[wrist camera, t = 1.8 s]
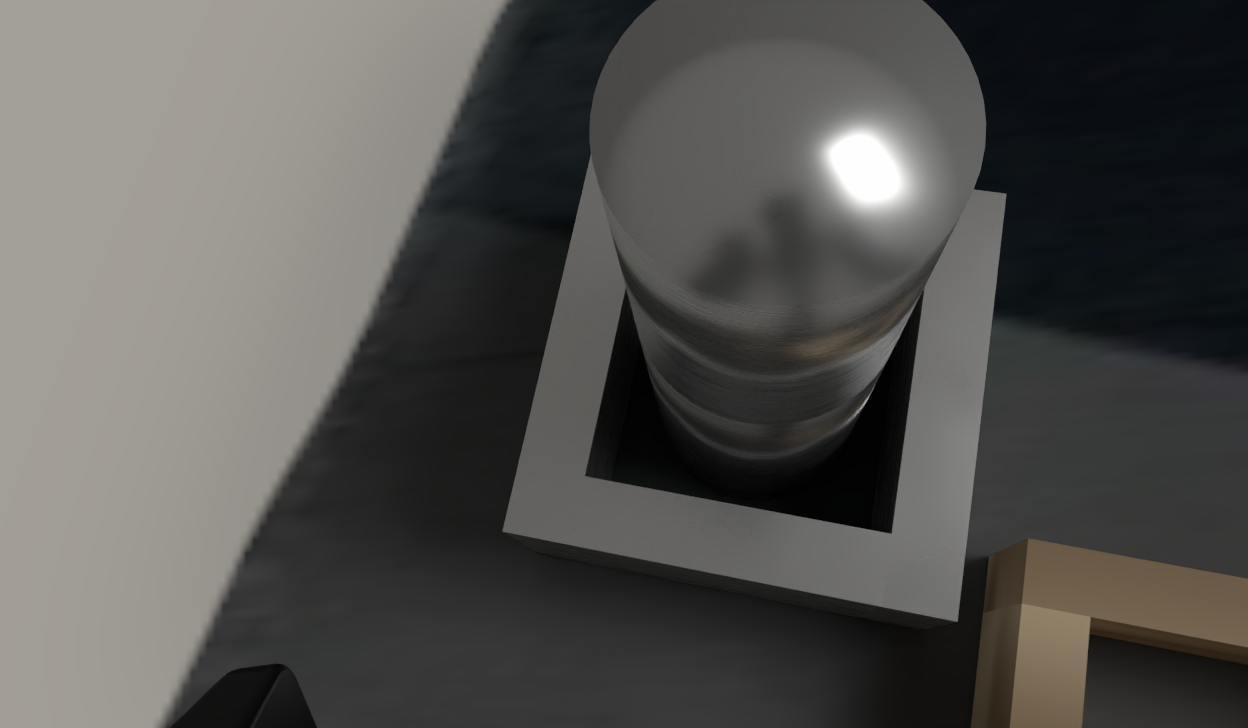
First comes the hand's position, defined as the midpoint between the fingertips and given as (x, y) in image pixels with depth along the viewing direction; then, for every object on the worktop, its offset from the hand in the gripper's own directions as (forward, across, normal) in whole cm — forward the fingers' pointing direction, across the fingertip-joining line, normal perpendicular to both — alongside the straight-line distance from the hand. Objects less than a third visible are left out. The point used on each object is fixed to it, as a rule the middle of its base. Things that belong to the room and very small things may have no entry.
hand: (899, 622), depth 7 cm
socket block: (+11, 0, +5) cm, 12 cm away
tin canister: (+11, 0, +5) cm, 12 cm away
